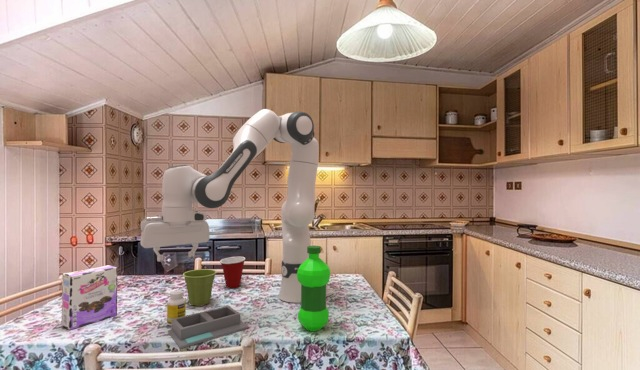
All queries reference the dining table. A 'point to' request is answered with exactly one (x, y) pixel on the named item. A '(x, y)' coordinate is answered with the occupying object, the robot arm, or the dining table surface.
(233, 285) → the plastic cup
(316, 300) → the plastic bottle
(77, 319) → the candy box
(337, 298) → the dining table surface
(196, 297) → the plant pot
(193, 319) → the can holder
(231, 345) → the dining table surface
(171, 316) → the supplement bottle
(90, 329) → the dining table surface
